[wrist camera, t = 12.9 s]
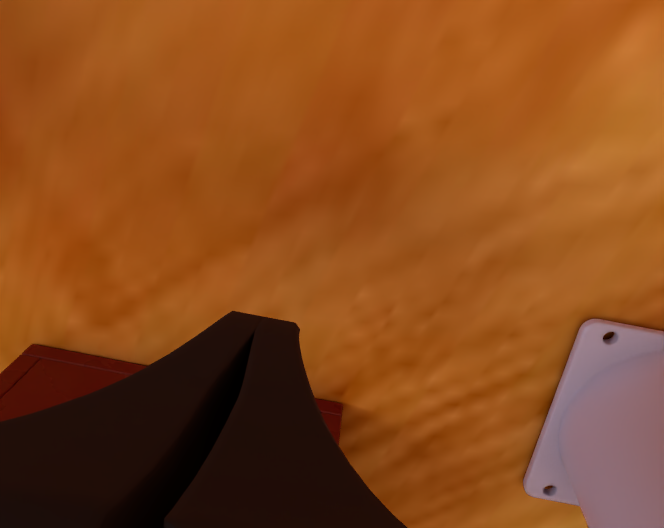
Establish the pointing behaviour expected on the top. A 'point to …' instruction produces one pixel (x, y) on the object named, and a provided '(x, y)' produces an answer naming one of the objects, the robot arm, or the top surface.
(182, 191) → the top surface
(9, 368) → the reddish-brown open box
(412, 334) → the top surface
